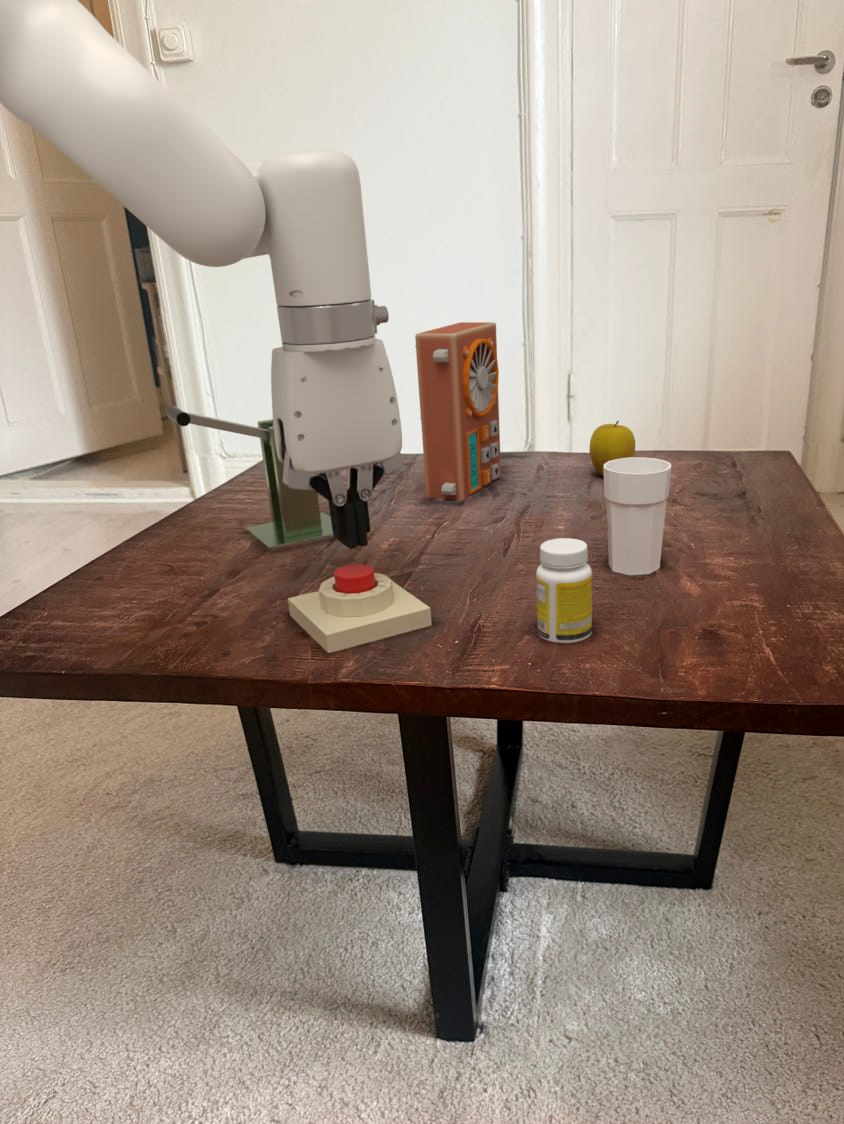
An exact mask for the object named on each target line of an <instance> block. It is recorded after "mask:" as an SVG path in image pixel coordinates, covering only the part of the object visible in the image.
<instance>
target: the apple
mask: <svg viewBox="0 0 844 1124" xmlns="http://www.w3.org/2000/svg"><path fill="white" fill-rule="evenodd" d="M619 421H620V420H617V421H616V422H615V423H606V424H602V425H600V426H598V427H596V428H595V430H594V431H593V433H592V434H591V437H590V442H589V456H590V460H591V463H592V465H593V467H594V469H595V471H596V472H597V474H598V475H600V476H602V477H604V470H603V467H604V464H605V463H607V462H608V461H611V460H615V459H621V458H629V457H635V456H634V455H635V451H636V439H635V435H634V433H633V431H632V430H631V429H630V428H629V427H628V426H625V425H623V424H622V425H621V424H620V425H619V424H618V423H619Z"/></svg>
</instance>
